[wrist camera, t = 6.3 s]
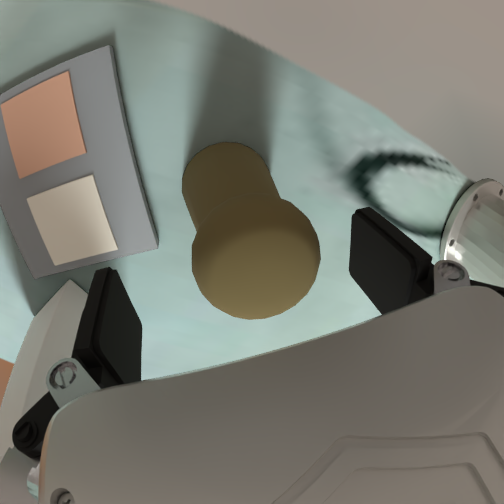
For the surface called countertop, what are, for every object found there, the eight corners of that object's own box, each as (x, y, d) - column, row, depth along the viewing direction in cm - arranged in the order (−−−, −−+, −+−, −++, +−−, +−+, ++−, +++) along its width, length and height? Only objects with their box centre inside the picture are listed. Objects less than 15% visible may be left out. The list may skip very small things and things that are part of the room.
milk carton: (89, 358, 26) (74, 541, 10) (33, 317, 22) (-18, 509, 6) (132, 326, 25) (129, 549, 9) (70, 276, 21) (7, 518, 5)
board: (112, 47, 14) (108, 44, 13) (158, 241, 21) (157, 250, 20) (-19, 109, 12) (-28, 112, 11) (38, 272, 20) (33, 280, 19)
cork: (204, 239, 22) (224, 359, 12) (166, 166, 18) (147, 252, 9) (281, 205, 22) (353, 303, 12) (252, 127, 18) (323, 174, 9)
